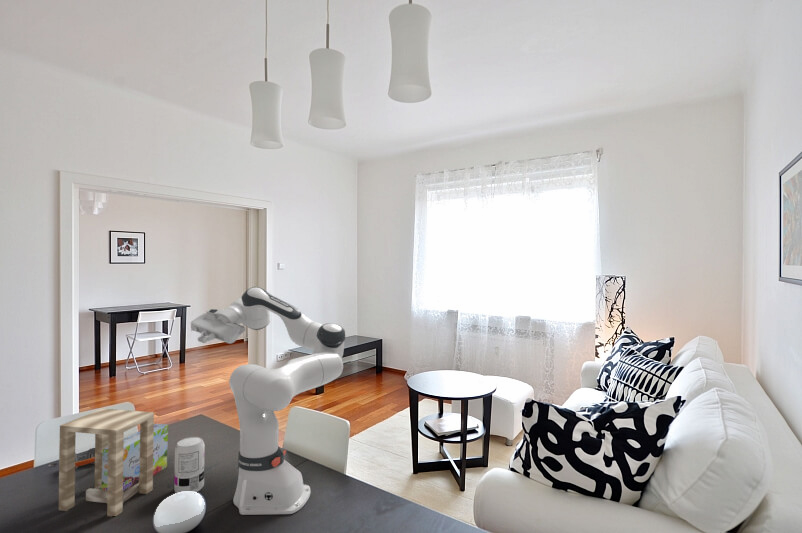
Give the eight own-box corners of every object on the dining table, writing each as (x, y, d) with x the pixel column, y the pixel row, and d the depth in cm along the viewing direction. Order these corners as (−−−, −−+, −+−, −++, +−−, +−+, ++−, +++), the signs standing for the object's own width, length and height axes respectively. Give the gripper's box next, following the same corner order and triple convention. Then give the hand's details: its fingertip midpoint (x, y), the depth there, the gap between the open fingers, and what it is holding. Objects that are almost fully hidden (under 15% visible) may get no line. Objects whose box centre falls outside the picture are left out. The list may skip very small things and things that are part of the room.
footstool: (154, 488, 128) (155, 411, 128) (115, 516, 113) (116, 430, 113) (103, 483, 130) (104, 407, 130) (58, 510, 116) (59, 425, 116)
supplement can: (168, 493, 125) (168, 444, 125) (190, 480, 133) (191, 434, 133) (187, 499, 122) (188, 449, 122) (209, 485, 130) (210, 438, 130)
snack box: (116, 501, 121) (117, 450, 121) (100, 499, 121) (100, 449, 121) (168, 466, 142) (169, 423, 141) (153, 465, 142) (154, 422, 142)
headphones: (102, 440, 155) (120, 443, 143) (103, 455, 154) (121, 459, 142) (44, 456, 142) (58, 461, 130) (45, 472, 141) (59, 479, 129)
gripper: (248, 334, 166) (224, 355, 154) (208, 320, 171) (182, 339, 160) (246, 321, 162) (221, 342, 151) (205, 307, 168) (178, 327, 157)
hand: (200, 341), depth 156 cm, fingers closed
